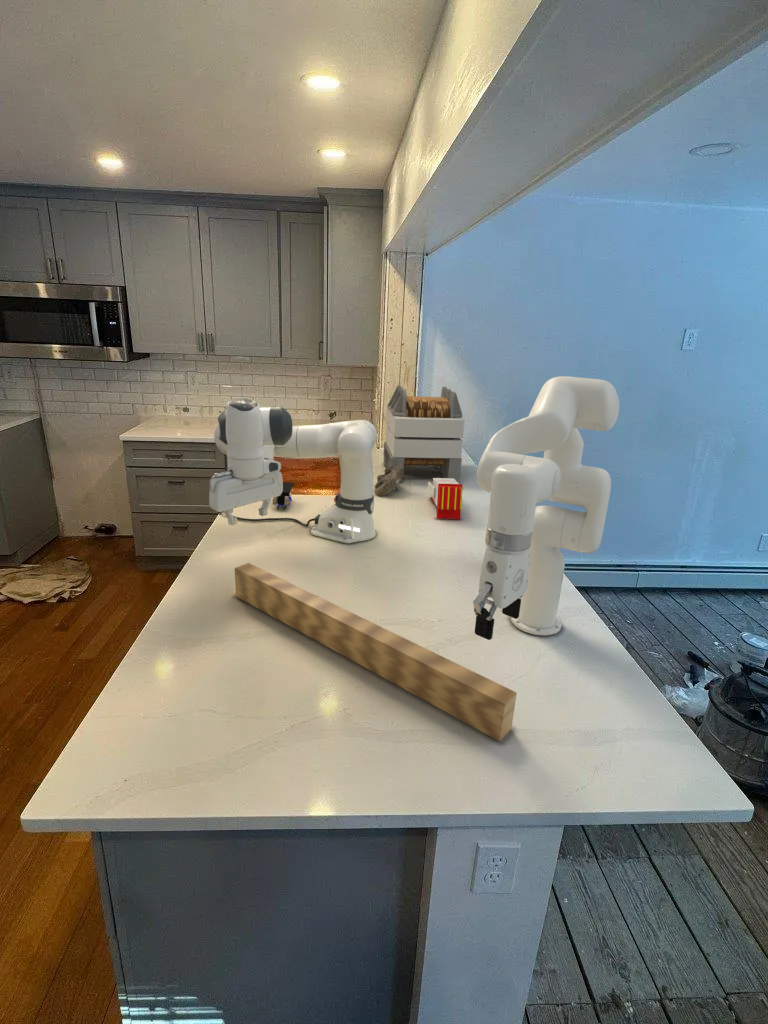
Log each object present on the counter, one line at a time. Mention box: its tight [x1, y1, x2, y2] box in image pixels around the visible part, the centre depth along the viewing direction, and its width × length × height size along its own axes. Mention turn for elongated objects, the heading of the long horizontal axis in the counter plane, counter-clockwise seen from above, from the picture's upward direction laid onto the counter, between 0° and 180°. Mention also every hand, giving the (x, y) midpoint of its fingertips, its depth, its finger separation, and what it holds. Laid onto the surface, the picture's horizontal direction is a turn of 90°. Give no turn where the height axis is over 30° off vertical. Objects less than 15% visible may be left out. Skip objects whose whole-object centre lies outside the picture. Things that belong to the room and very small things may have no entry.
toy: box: [427, 477, 464, 520], centre depth 227 cm, size 12×13×30 cm
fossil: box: [374, 466, 405, 497], centre depth 246 cm, size 22×10×15 cm
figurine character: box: [272, 481, 294, 510], centre depth 222 cm, size 7×8×15 cm
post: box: [234, 562, 517, 742], centre depth 129 cm, size 80×5×8 cm, turn 50°
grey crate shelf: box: [383, 384, 465, 484], centre depth 268 cm, size 34×33×41 cm
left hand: (248, 519), depth 144 cm, fingers open, 8 cm apart
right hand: (497, 625), depth 102 cm, fingers open, 9 cm apart
